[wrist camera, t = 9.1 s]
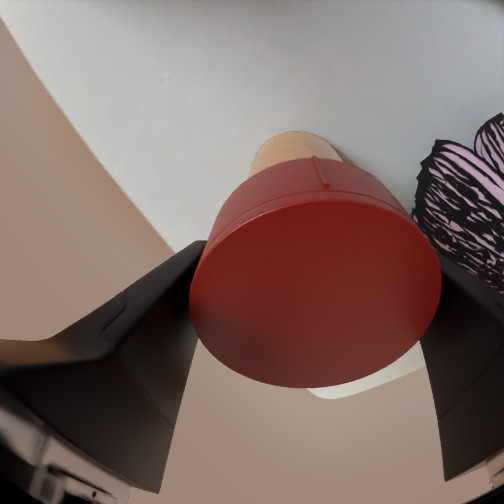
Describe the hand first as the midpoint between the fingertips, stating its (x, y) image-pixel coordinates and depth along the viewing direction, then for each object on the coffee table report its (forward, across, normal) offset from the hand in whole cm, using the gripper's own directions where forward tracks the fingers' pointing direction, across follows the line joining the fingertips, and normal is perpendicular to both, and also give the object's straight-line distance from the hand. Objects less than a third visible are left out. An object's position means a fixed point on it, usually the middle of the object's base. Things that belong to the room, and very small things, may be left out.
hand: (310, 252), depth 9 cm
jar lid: (-3, 0, 0) cm, 3 cm away
